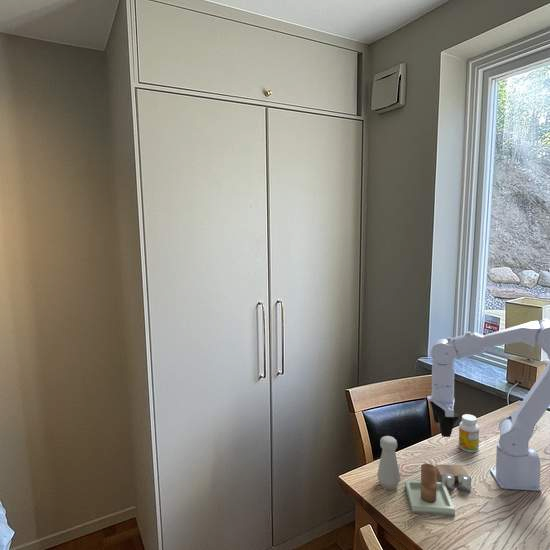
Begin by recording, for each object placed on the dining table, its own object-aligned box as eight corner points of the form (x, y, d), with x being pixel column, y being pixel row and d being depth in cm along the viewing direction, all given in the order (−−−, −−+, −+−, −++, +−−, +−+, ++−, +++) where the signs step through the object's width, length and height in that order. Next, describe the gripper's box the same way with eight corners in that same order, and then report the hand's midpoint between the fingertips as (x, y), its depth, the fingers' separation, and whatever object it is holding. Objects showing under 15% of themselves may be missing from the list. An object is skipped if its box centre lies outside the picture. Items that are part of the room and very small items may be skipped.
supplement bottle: (455, 442, 123) (456, 413, 122) (473, 442, 123) (474, 412, 122) (463, 452, 118) (464, 421, 117) (481, 452, 118) (482, 421, 116)
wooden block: (461, 473, 109) (461, 464, 109) (468, 484, 104) (469, 476, 104) (435, 472, 110) (435, 464, 109) (441, 484, 105) (441, 475, 104)
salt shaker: (401, 493, 101) (401, 445, 100) (378, 491, 103) (377, 444, 101) (398, 479, 107) (398, 433, 105) (376, 477, 108) (376, 432, 107)
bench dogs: (468, 484, 104) (469, 474, 103) (472, 492, 101) (472, 481, 100) (440, 483, 105) (440, 472, 104) (443, 490, 102) (443, 480, 101)
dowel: (434, 493, 100) (434, 464, 99) (438, 503, 96) (438, 472, 95) (419, 492, 100) (419, 463, 99) (422, 502, 97) (423, 472, 96)
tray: (443, 488, 102) (444, 482, 102) (454, 515, 93) (455, 508, 93) (405, 486, 104) (405, 480, 104) (412, 512, 95) (412, 505, 94)
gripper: (422, 372, 118) (421, 416, 119) (434, 393, 104) (433, 442, 105) (447, 373, 117) (446, 416, 118) (462, 394, 102) (461, 443, 104)
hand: (442, 429), depth 112 cm, fingers open, 7 cm apart
